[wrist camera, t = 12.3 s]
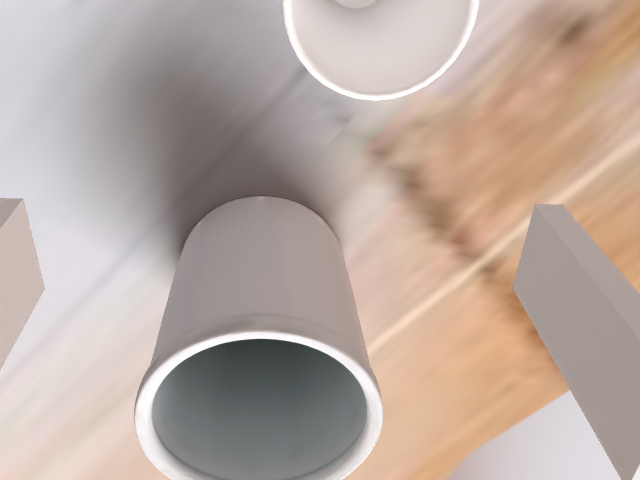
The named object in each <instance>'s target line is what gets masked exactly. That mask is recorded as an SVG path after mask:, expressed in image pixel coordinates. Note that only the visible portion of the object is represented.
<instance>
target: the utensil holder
mask: <svg viewBox="0 0 640 480" xmlns="http://www.w3.org/2000/svg"><path fill="white" fill-rule="evenodd" d="M382 422H383V404H382V397H381V393H380V389H379V385H378V382H377V379H376V377H375V375H374V373H373V371H372V369H371V367H370V364H369V359H368V354H367V350H366V346H365V342H364V338H363V334H362V330H361V326H360V322H359V318H358V314H357V309H356V304H355V300H354V295H353V291H352V287H351V283H350V279H349V276H348V272H347V269H346V265H345V261H344V257H343V254H342V251H341V248H340V245H339V242H338V240H337V238H336V236H335V234H334V233H333V231H332V229H331V228H330V227H329V225H328V224H327V223H326V222H325V221H324V220H323V219H322V218H321V217H320V216H319V215H317V214H316V213H315V212H313V211H312V210H310V209H308V208H307V207H305V206H303V205H301V204H299V203H296V202H294V201H291V200H287V199H284V198H279V197H271V196H254V197H246V198H240V199H237V200H233V201H230V202H227V203H225V204H223V205H221V206H219V207H217V208H215V209H214V210H212V211H211V212H209V213H208V214H207V215H206V216H205V217H204V218H203V219H201V220H200V221H199V222H198V223H197V224H196V225H195V227H194V228H193V229H192V231H191V232H190V234H189V236H188V238H187V240H186V242H185V244H184V247H183V250H182V253H181V256H180V259H179V262H178V266H177V269H176V272H175V276H174V279H173V282H172V286H171V290H170V293H169V297H168V301H167V305H166V308H165V312H164V316H163V319H162V323H161V327H160V331H159V335H158V338H157V343H156V347H155V350H154V354H153V358H152V361H151V365H150V367H149V368H148V370H147V371H146V373H145V375H144V377H143V379H142V382H141V384H140V387H139V390H138V393H137V397H136V402H135V409H134V425H135V430H136V434H137V438H138V441H139V443H140V445H141V447H142V449H143V451H144V452H145V454H146V455H147V457H148V458H149V460H150V461H151V462H152V463H153V464H154V466H155V467H157V468H158V469H159V470H160V471H161V472H162V473H163V474H164V475H166V476H167V477H169V478H170V479H171V480H341V479H343V478H344V477H346V476H347V475H348V474H350V473H351V472H352V471H353V470H355V469H356V468H357V467H358V466H359V465H360V464H361V463H362V462H363V461H364V460H365V459H366V457H367V456H368V455H369V453H370V452H371V450H372V449H373V447H374V446H375V444H376V442H377V439H378V437H379V434H380V431H381V428H382Z"/></svg>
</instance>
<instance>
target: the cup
mask: <svg viewBox="0 0 640 480" xmlns="http://www.w3.org/2000/svg"><path fill="white" fill-rule="evenodd" d="M478 7H479V0H282V8H283V17H284V24H285V28H286V31H287V34H288V38H289V41H290V43H291V45H292V47H293V49H294V51H295V53H296V55H297V57H298V58H299V60H300V61H301V62H302V64H303V65H304V66H305V67H306V69H307V70H308V71H309V72H310V74H312V75H313V76H314V77H315V78H316V79H318V80H319V81H320V82H321V83H322V84H324V85H325V86H327V87H329V88H331V89H333V90H334V91H336V92H338V93H340V94H343V95H347V96H350V97H353V98H356V99H365V100H384V99H393V98H397V97H400V96H404V95H407V94H410V93H412V92H414V91H416V90H418V89H420V88H422V87H424V86H426V85H428V84H429V83H430V82H432V81H433V80H434V79H436V78H437V77H438V76H440V75H441V74H442V73H443V72H444V71H445V70H446V69H447V68H448V67H449V66H450V65H451V64H452V63H453V61H454V60H455V59H456V58H457V56H458V55H459V53H460V52H461V50H462V49H463V47H464V46H465V44H466V42H467V40H468V38H469V35H470V33H471V31H472V29H473V26H474V23H475V19H476V15H477V11H478Z"/></svg>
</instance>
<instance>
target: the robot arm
mask: <svg viewBox="0 0 640 480" xmlns="http://www.w3.org/2000/svg"><path fill="white" fill-rule="evenodd" d="M44 289H45V288H44V283H43V279H42V275H41V271H40V267H39V263H38V258H37V254H36V250H35V246H34V242H33V238H32V233H31V229H30V225H29V221H28V217H27V213H26V208H25V204H24V200H23V199H5V198H0V370H1V368H2V366H3V364H4V362H5V360H6V359H7V357H8V355H9V353H10V351H11V349H12V348H13V346H14V344H15V342H16V340H17V338H18V337H19V335H20V333H21V331H22V329H23V327H24V325H25V324H26V322H27V320H28V318H29V316H30V314H31V313H32V311H33V309H34V307H35V305H36V303H37V302H38V300H39V298H40V296H41V294H42V292H43V291H44ZM513 290H514V292H515V294H516V295H517V297H518V299H519V301H520V302H521V304H522V306H523V308H524V309H525V311H526V313H527V315H528V316H529V318H530V320H531V322H532V323H533V325H534V327H535V329H536V330H537V332H538V334H539V336H540V337H541V339H542V341H543V343H544V344H545V346H546V348H547V350H548V351H549V353H550V355H551V357H552V359H553V360H554V362H555V364H556V366H557V367H558V369H559V371H560V373H561V374H562V376H563V378H564V380H565V381H566V383H567V385H568V387H569V388H570V390H571V392H572V394H573V395H574V397H575V399H576V401H577V402H578V404H579V406H580V408H581V409H582V411H583V413H584V415H585V416H586V418H587V420H588V422H589V423H590V425H591V427H592V429H593V430H594V432H595V434H596V436H597V438H598V439H599V441H600V443H601V445H602V446H603V447H604V450H605V452H606V453H607V455H608V457H609V458H610V460H611V462H612V464H613V466H614V467H615V469H616V471H617V472H618V474H619V476H620V478H621V479H622V480H640V294H639V293H638V292H637V291H636V289H635V288H634V287H633V286H632V285H631V284H630V282H629V281H628V280H627V279H626V278H625V277H624V275H623V274H622V273H621V272H620V271H619V270H618V268H617V267H616V266H615V265H614V264H613V263H612V262H611V260H610V259H609V258H608V257H607V256H606V255H605V253H604V252H603V251H602V250H601V249H600V248H599V246H598V245H597V244H596V243H595V242H594V241H593V239H592V238H591V237H590V236H589V235H588V234H587V232H586V231H585V230H584V229H583V228H582V227H581V225H580V224H579V223H578V222H577V221H576V220H575V219H574V217H573V216H572V215H571V214H570V213H569V212H568V210H567V209H566V208H565V207H564V206H563V205H551V204H535V205H534V209H533V213H532V217H531V220H530V224H529V228H528V232H527V235H526V239H525V243H524V247H523V250H522V254H521V258H520V261H519V265H518V269H517V273H516V276H515V280H514V284H513Z"/></svg>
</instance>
